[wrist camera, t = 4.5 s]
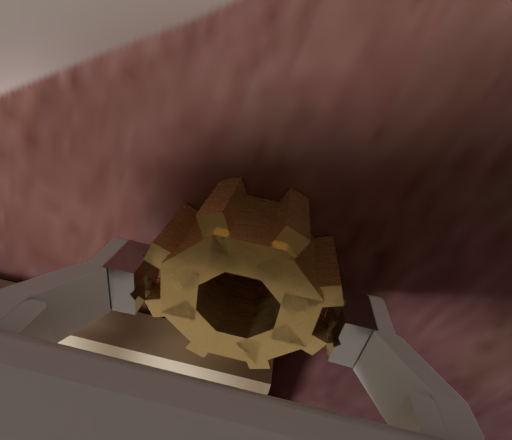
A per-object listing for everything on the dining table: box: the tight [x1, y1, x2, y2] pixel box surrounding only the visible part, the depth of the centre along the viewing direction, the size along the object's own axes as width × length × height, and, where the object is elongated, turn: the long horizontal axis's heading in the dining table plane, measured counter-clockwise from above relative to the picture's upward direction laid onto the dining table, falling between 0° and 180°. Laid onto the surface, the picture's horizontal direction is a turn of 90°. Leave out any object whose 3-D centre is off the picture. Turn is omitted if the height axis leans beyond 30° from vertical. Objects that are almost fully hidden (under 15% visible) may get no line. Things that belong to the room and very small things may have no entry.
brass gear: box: [143, 176, 344, 369], centre depth 10 cm, size 6×6×3 cm
